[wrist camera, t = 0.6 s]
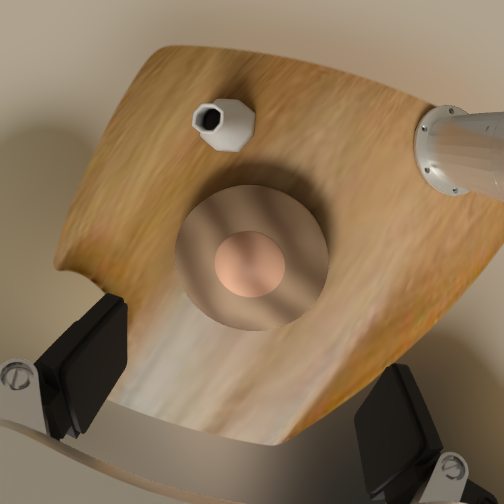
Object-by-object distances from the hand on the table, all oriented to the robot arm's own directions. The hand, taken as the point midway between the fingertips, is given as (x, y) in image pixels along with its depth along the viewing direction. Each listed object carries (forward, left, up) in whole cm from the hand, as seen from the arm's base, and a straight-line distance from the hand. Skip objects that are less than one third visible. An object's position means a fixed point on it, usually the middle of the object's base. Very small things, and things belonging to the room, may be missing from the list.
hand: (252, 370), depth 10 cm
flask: (-1, -12, -31) cm, 33 cm away
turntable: (+7, +4, -29) cm, 31 cm away
